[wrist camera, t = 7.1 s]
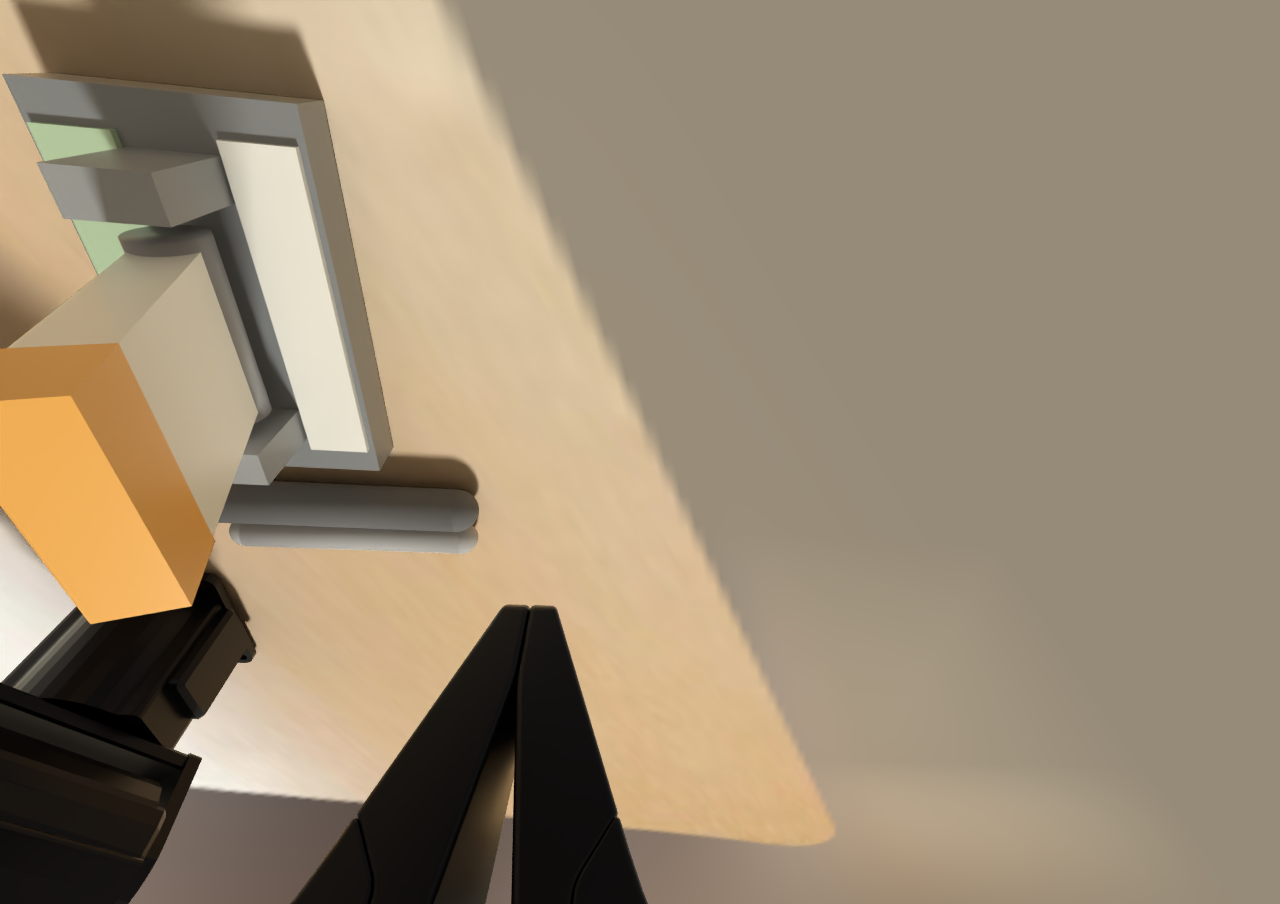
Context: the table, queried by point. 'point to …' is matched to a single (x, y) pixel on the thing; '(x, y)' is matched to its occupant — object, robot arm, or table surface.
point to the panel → (231, 238)
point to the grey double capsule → (351, 517)
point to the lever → (130, 424)
